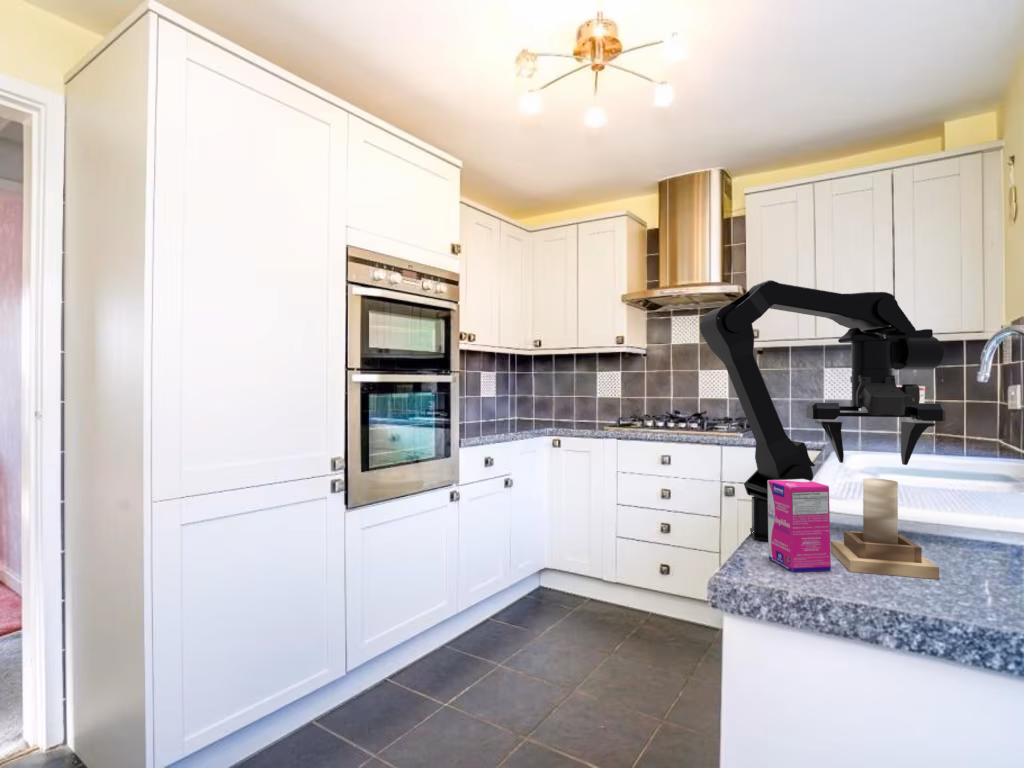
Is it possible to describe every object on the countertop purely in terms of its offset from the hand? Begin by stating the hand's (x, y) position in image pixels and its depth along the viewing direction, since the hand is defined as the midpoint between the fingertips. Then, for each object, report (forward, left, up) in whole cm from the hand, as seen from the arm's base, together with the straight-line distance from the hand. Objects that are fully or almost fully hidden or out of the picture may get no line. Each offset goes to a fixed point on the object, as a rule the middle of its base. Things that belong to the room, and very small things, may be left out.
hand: (872, 463), depth 92 cm
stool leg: (-4, -17, -10) cm, 20 cm away
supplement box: (-15, -21, -12) cm, 29 cm away
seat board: (-4, -17, -12) cm, 21 cm away
